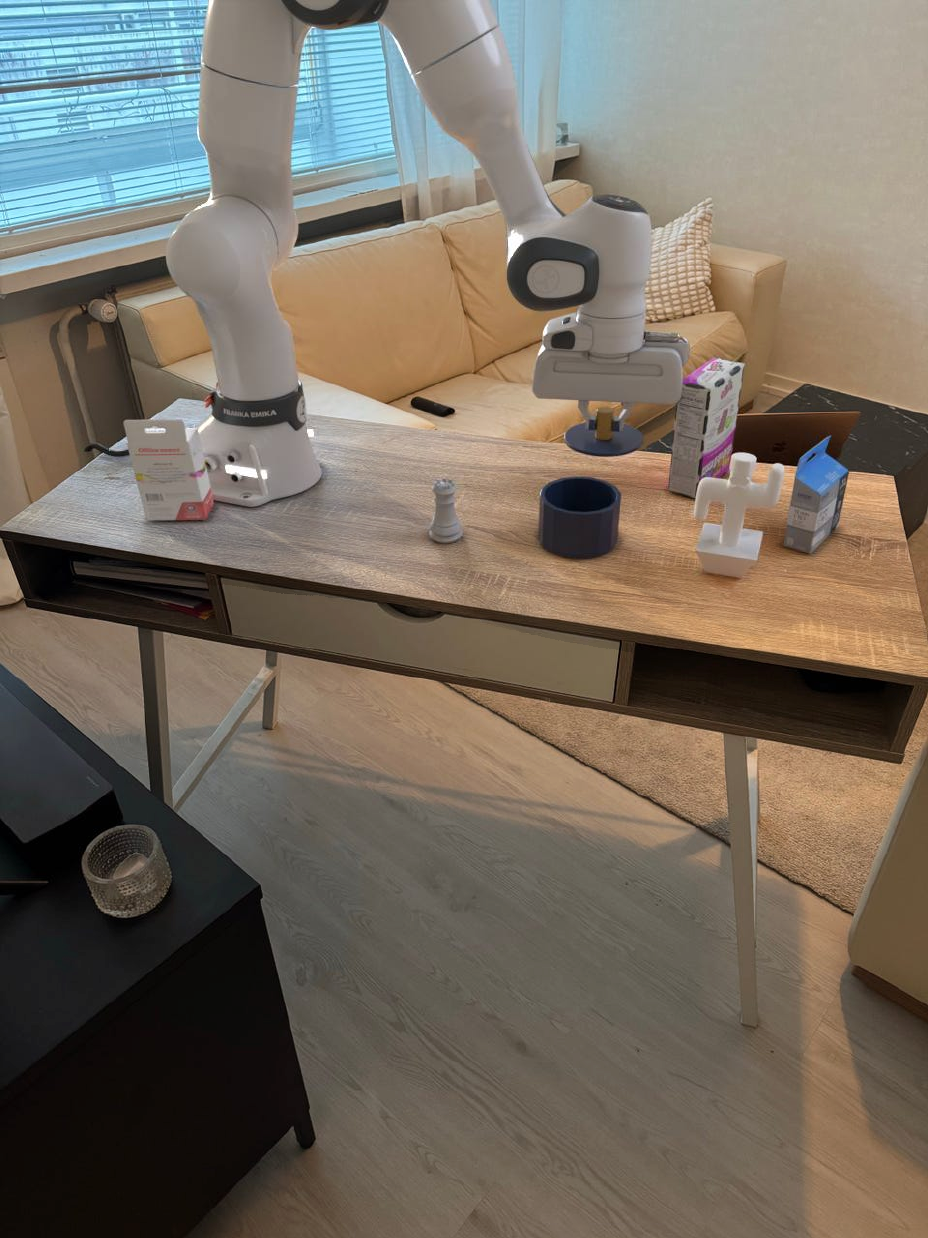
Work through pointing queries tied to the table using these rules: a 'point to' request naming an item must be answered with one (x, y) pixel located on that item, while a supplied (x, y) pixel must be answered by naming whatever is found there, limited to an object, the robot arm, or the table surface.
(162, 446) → the ink cartridge box
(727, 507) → the figurine
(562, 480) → the tin
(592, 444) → the tin lid
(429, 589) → the table surface
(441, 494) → the rook chess piece
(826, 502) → the label tape box
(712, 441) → the candy bar box
